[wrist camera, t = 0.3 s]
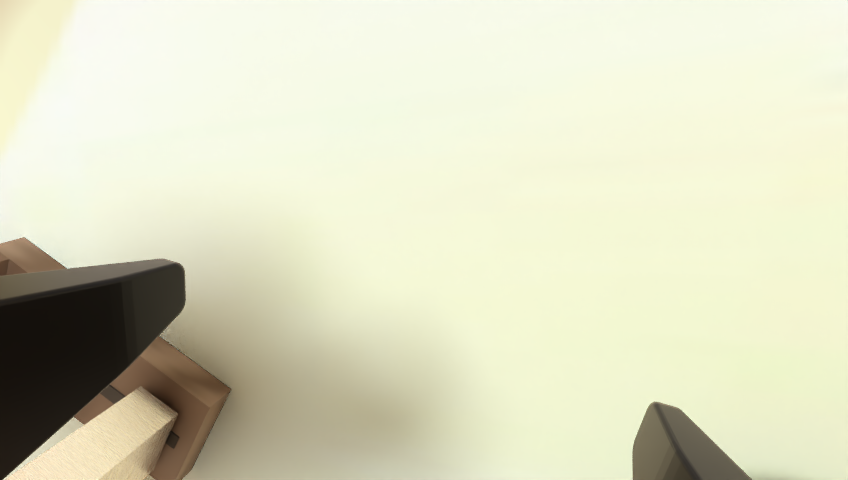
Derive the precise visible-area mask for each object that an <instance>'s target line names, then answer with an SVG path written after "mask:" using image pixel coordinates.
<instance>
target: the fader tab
mask: <svg viewBox="0 0 848 480" xmlns="http://www.w3.org/2000/svg"><path fill="white" fill-rule="evenodd" d="M177 416H178V413H176V412H175V411H174V410H172V409H171V408H170V407H168V406H167V405H166V404H164V403H163V402H162V401H160V400H159V399H158V398H156V397H155V396H154V395H152V394H151V393H150V392H148V391H147V390H146V389H144V388H143V387H142V386H140V387H139V388H137V389H136V390H134V391H133V392H132V393H130V394H129V395H127V396H126V397H124V398H123V399H121V400H120V401H118V402H117V403H116V404H114V405H113V406H111V407H110V408H108V409H107V410H105V411H104V412H102V413H101V414H100V415H98V416H97V417H95V418H94V419H92V420H91V421H89V422H88V423H86V424H85V425H84V426H82V427H81V428H79V429H78V430H76V431H75V432H73V433H72V434H70V435H69V436H68V437H66V438H65V439H63V440H62V441H60V442H59V443H57V444H56V445H54V446H53V447H51V448H50V449H49V450H47V451H46V452H44V453H43V454H41V455H40V456H38V457H37V458H35V459H34V460H33V461H31V462H30V463H28V464H27V465H25V466H24V467H22V468H21V469H19V470H18V471H17V472H15V473H14V474H12V475H11V476H9V477H8V478H6V479H5V480H143V479H144V478H145V477H147V476H148V475H149V474H150V473H151V472H152V471H153V470H154V468H155V465H156V463H157V461H158V459H159V456H160V454H161V452H162V450H163V447H164V445H165V443H166V441H167V438H168V436H169V434H170V431H171V429H172V427H173V425H174V422H175V420H176V418H177Z"/></svg>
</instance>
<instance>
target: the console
mask: <svg viewBox="0 0 848 480" xmlns="http://www.w3.org/2000/svg"><path fill="white" fill-rule="evenodd" d="M61 269H67V268H65V267H64V266H62V265H61V264H60V263H58V262H57V261H56V260H54V259H53V258H52V257H50V256H49V255H47V254H46V253H45V252H43V251H42V250H41V249H39V248H38V247H37V246H35V245H34V244H32V243H31V242H30V241H28V240H27V239H26V238H24V237H23V238H20V239H16V240H12V241H9V242H5V243H1V244H0V276H5V275H14V274H23V273H33V272H42V271H51V270H61ZM140 386H142V387H143V388H144V389H146V390H147V391H148V392H150V393H151V394H152V395H154V396H155V397H156V398H158V399H159V400H160V401H162V402H163V403H164V404H166V405H167V406H168V407H170V408H171V409H172V410H174V411H175V412H176V413H178V416H177V418H176V420H175V422H174V425H173V427H172V429H171V431H170V434H169V436H168V438H167V441H166V443H165V445H164V447H163V450H162V452H161V454H160V456H159V459H158V461H157V463H156V465H155V468H154V470H153V471H152V472H151V473H150V474H149V475H151V476H152V477H153V478H155V479H156V480H182V479H183V478H184V477H185V476H186V475H187V474H188V473H189V472H190V471H191V469H192V467H193V465H194V463H195V461H196V459H197V457H198V455H199V453H200V451H201V449H202V447H203V445H204V443H205V441H206V439H207V437H208V435H209V433H210V431H211V429H212V427H213V425H214V423H215V421H216V419H217V417H218V415H219V413H220V411H221V409H222V407H223V405H224V403H225V401H226V399H227V397H228V395H229V393H230V390H231V389H230V388H229V387H227V386H226V385H225V384H223V383H222V382H221V381H219V380H218V379H216V378H215V377H214V376H212V375H211V374H210V373H208V372H207V371H206V370H204V369H203V368H201V367H200V366H199V365H197V364H196V363H195V362H193V361H192V360H191V359H189V358H188V357H186V356H185V355H184V354H182V353H181V352H180V351H178V350H177V349H176V348H174V347H173V346H171V345H170V344H169V343H167V342H166V341H165V340H163V339H162V338H161V337H159V336H158V337H157V338H156V339H155V340H154V341H153V342H152V343H151V345H150V346H149V347H148V348H147V349H146V350H145V351H144V352H143V353H142V354H141V355H140V356H139V357H138V358H137V359H136V360H135V361H134V362H133V363H132V364H131V365H130V366H129V367H128V368H127V369H126V370H125V371H124V372H123V373H122V374H121V375H120V376H119V377H118V378H117V379H115V380H114V381H113V382H112V383H111V384H110V385H109V386H108V387H106V388H105V389H104V390H103V391H102V392H101V393H100V394H99V395H97V396H96V397H95V398H94V399H93V400H92V401H91V402H90V403H88V404H87V405H86V406H85V407H84V408H83V409H82V410H81V411H79V412H78V413H77V414H76V415H75V416H74V417H75V418H76V419H78V420H79V421H80V422H81V423H83V424H84V425H85V424H86V423H88V422H89V421H91V420H92V419H94V418H95V417H97V416H98V415H100V414H101V413H102V412H104V411H105V410H107V409H108V408H110V407H111V406H113V405H114V404H116V403H117V402H118V401H120V400H121V399H123V398H124V397H126V396H127V395H129V394H130V393H132V392H133V391H134V390H136V389H137V388H139V387H140Z"/></svg>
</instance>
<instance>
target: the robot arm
mask: <svg viewBox="0 0 848 480" xmlns="http://www.w3.org/2000/svg"><path fill="white" fill-rule="evenodd" d="M185 301H186V294H185V271H184V268H183V266H182V265H181V264H180V263H177V262H173V261H170V260H167V259H154V260H144V261H135V262H126V263H116V264H107V265H98V266H88V267H79V268H70V269H61V270H51V271H42V272H33V273H23V274H14V275H5V276H0V480H3V479H4V478H5V477H6V476H7V475H9V474H10V473H11V472H12V471H13V470H14V469H15V468H16V467H18V466H19V465H20V464H21V463H22V462H23V461H24V460H25V459H27V458H28V457H29V456H30V455H31V454H32V453H33V452H34V451H36V450H37V449H38V448H39V447H40V446H41V445H42V444H43V443H45V442H46V441H47V440H48V439H49V438H50V437H51V436H52V435H54V434H55V433H56V432H57V431H58V430H59V429H60V428H61V427H63V426H64V425H65V424H66V423H67V422H68V421H69V420H70V419H72V418H73V417H74V416H75V415H76V414H77V413H78V412H79V411H81V410H82V409H83V408H84V407H85V406H86V405H87V404H88V403H90V402H91V401H92V400H93V399H94V398H95V397H96V396H97V395H99V394H100V393H101V392H102V391H103V390H104V389H105V388H106V387H108V386H109V385H110V384H111V383H112V382H113V381H114V380H115V379H117V378H118V377H119V376H120V375H121V374H122V373H123V372H124V371H125V370H126V369H127V368H128V367H129V366H130V365H131V364H132V363H133V362H134V361H135V360H136V359H137V358H138V357H139V356H140V355H141V354H142V353H143V352H144V351H145V350H146V349H147V348H148V347H149V346H150V345H151V343H152V342H153V341H154V340H155V339H156V338H157V337H158V336H159V335H160V334H161V333H162V332H163V331H164V330H165V329H166V328H167V326H168V325H169V324H170V323H171V322H172V321H173V320H174V319H175V318H176V317H177V316H178V315H179V314H180V312H181V311H182V310H183V308H184V305H185ZM632 456H633V480H752V479H751V478H750V477H749V476H748V475H747V474H746V473H745V472H744V471H743V470H742V469H741V468H740V467H739V466H738V465H737V464H736V463H735V462H734V461H732V460H731V459H730V458H729V457H728V456H727V455H726V454H725V453H724V452H723V451H722V450H721V449H720V448H719V447H718V446H717V445H716V444H715V443H714V442H713V441H712V440H711V439H710V438H709V437H708V436H707V435H706V434H705V433H704V432H703V431H702V430H701V429H700V428H699V427H698V426H697V425H696V424H695V423H694V422H693V421H692V420H691V419H690V418H689V417H688V416H687V415H686V414H685V413H684V412H683V411H681V410H680V409H679V408H677V407H673V406H670V405H666V404H663V403H659V402H653V403H651V404H650V405H649V407H648V409H647V411H646V413H645V416H644V418H643V421H642V423H641V426H640V428H639V431H638V433H637V436H636V438H635V441H634V445H633V455H632Z"/></svg>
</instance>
